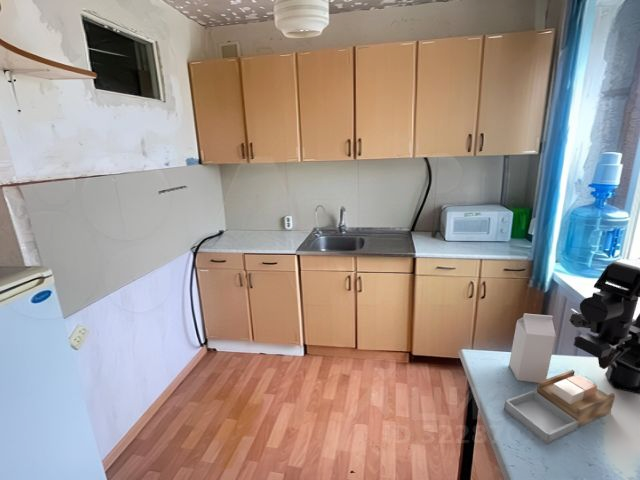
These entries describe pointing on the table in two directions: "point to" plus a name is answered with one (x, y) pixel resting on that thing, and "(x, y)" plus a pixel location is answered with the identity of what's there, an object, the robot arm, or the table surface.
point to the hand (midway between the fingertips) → (602, 367)
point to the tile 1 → (568, 391)
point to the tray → (541, 416)
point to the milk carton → (532, 347)
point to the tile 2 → (584, 385)
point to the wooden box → (580, 409)
